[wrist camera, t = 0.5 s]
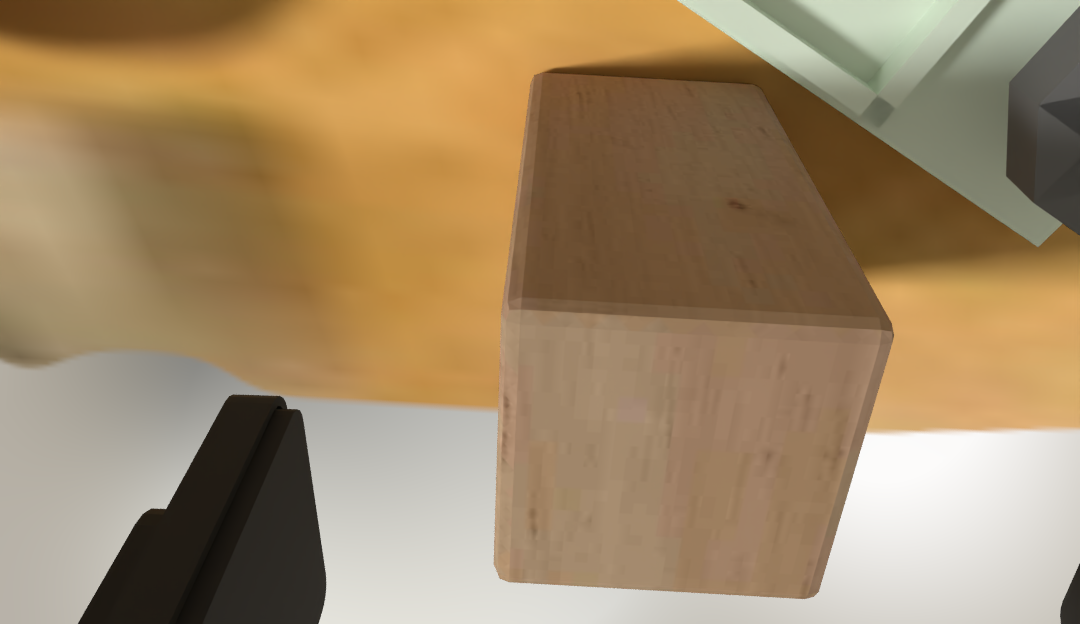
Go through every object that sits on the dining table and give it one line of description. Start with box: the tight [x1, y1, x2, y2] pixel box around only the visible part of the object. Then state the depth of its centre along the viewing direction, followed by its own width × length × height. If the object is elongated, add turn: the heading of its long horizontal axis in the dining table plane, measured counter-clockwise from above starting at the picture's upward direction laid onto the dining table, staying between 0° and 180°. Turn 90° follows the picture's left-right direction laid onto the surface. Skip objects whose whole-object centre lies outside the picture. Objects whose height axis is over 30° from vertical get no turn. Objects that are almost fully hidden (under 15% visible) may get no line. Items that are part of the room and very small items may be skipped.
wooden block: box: [494, 73, 894, 599], centre depth 34 cm, size 10×10×20 cm
